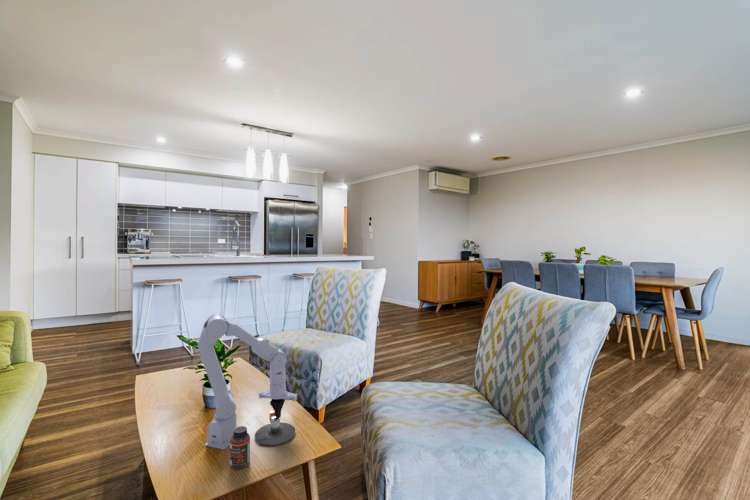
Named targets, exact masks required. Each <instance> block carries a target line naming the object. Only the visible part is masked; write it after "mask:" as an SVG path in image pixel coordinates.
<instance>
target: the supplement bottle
mask: <svg viewBox="0 0 750 500" xmlns="http://www.w3.org/2000/svg"><path fill="white" fill-rule="evenodd" d="M250 461H251V435H250V433H248V427H247V426H244V425H239V426H236V428H235V429H234V431H233V436H232V437H231V439H230V445H229V466H230V468H231V469H233V470H241V469H245V468H246V467H247V466H249V464H250V463H251V462H250Z"/></svg>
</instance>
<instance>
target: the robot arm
mask: <svg viewBox="0 0 750 500" xmlns="http://www.w3.org/2000/svg"><path fill="white" fill-rule="evenodd" d="M201 329H202V330H201V333H200V336H199V339H198V342H197V349H198V352H199V355H200V357H201V360H202V364H203V367H204V369H205V372H206V374H207V378H208V381H209V383H210V387H211V389H212V393H213V396H214V403H215V404H214V405H215V409H216V410H215V412H214V415H213V418H212V421H211V422H209V423H208V425H207V427H206V428H207V429H206V442H205V444H204V445H205V447H206V446H207V447H210V448H214V449H220V450H226V449H227V448H228V447H230V439H231V437H232V436H233V431H234V429H235V428H237V405H236V403H235V398H234V397H235V396H234V394H233V392H231V391H230V390H229V388H228V385H227V383H226V380H225V377H224V373H223V369H222V368H221V364H220V361H219V358H218V356H217V354H216V349H215V347H214V346H215V344H216V343H218V340H219V339H221V338H222V337H223V336H225V337H233V336H234V337H235V338H237V339H239V340H241V341H242V342H244V343H245V344H247V345H249V346H251V351H252V352H253V353H254V354H256V355H257V356H258V357H260V358H262V359H263V360H265V361H267V362H270V363H269V390H265V391H264V390H261V391H260V392H258V398H259V399H271V400H270V402H269V404H270V405H271V408H272V409H273V410H274V412H275V414H276V418H279V419H281V415H282V409H283V406H284V404H285V402H286V400H287V401H292V402H296V401H297V400H298V393H293V392H289V391H287V386H286V384H287V382H286V381H287V380H286V374H287V373H286V364H287V363H288V359H287V356H286V354H285V353H284V351H283V350H282V349H281V348H280V347H279V346H277V345H276V346H275V345H274V344H272V343H271V342H270V340H269V339H268V337H266V338H263V337H260V338H257V337H255V335H252V333H250V332H249V331H247V330H246V329H245V328H243V327H242V326H241V325H239V324H238V323H236V322H235V321H233V320H231V319H229V318H228V317H225V316H224V315H222V314H220V313H215V314H211V315H210V316H209V317H208V318H207V319H206V320H205V322H204V324H203V326H202V328H201Z"/></svg>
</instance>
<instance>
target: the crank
mask: <svg viewBox="0 0 750 500" xmlns="http://www.w3.org/2000/svg"><path fill="white" fill-rule="evenodd" d="M268 414H269V423H270V424H271V433H272V434H277V433H279V432H280V421H281V418H276V414H275V412H274V409H273V410H272V409H270V410H269V413H268Z"/></svg>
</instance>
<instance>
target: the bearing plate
mask: <svg viewBox="0 0 750 500" xmlns="http://www.w3.org/2000/svg"><path fill="white" fill-rule="evenodd" d="M295 435H296V429H295V427H294V426H293V425H292V424H291V423H288V422H280V432H279V433H277V434H272V433H271V423H268V424H265V425H262V426H261V427H260V428H258V429H257V430H256V431H255V433H254V440H255V443H257V444H258V445H260V446H263V447H276V446H277V447H278V446H281V445H284V444H287V443H288V442H290V441H291V440H293V438H294V437H295Z"/></svg>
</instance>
